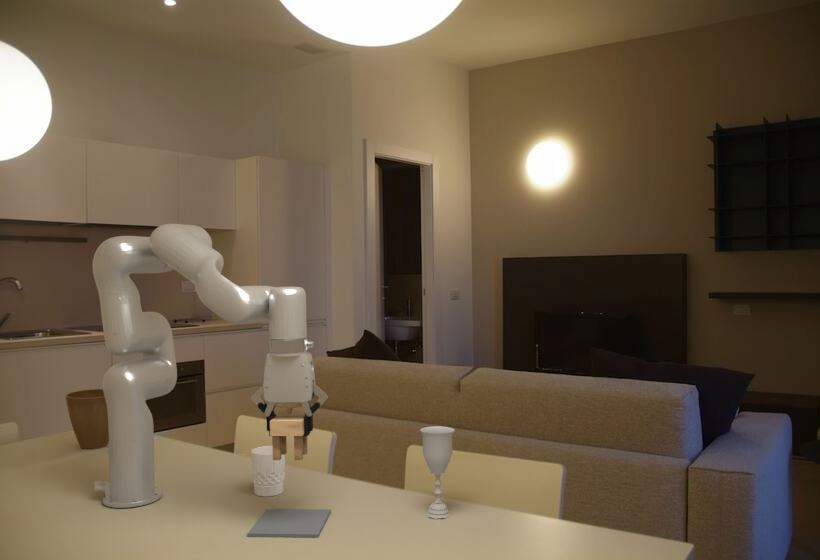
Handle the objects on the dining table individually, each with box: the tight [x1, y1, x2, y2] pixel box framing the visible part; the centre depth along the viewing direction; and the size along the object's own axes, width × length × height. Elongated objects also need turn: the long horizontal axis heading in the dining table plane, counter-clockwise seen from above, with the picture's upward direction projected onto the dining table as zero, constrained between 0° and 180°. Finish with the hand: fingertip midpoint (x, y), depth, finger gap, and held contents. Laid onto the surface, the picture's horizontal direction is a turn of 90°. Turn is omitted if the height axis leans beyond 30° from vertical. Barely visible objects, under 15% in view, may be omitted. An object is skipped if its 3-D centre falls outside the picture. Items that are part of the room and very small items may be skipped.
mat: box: [246, 508, 332, 538], centre depth 143 cm, size 14×14×1 cm
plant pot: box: [65, 388, 109, 450], centre depth 209 cm, size 15×15×16 cm
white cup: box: [250, 445, 286, 497], centre depth 164 cm, size 8×8×10 cm
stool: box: [269, 413, 308, 461], centre depth 143 cm, size 6×6×8 cm
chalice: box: [420, 425, 455, 518], centre depth 147 cm, size 7×7×18 cm
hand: (290, 433), depth 143 cm, fingers closed on stool, 6 cm apart
